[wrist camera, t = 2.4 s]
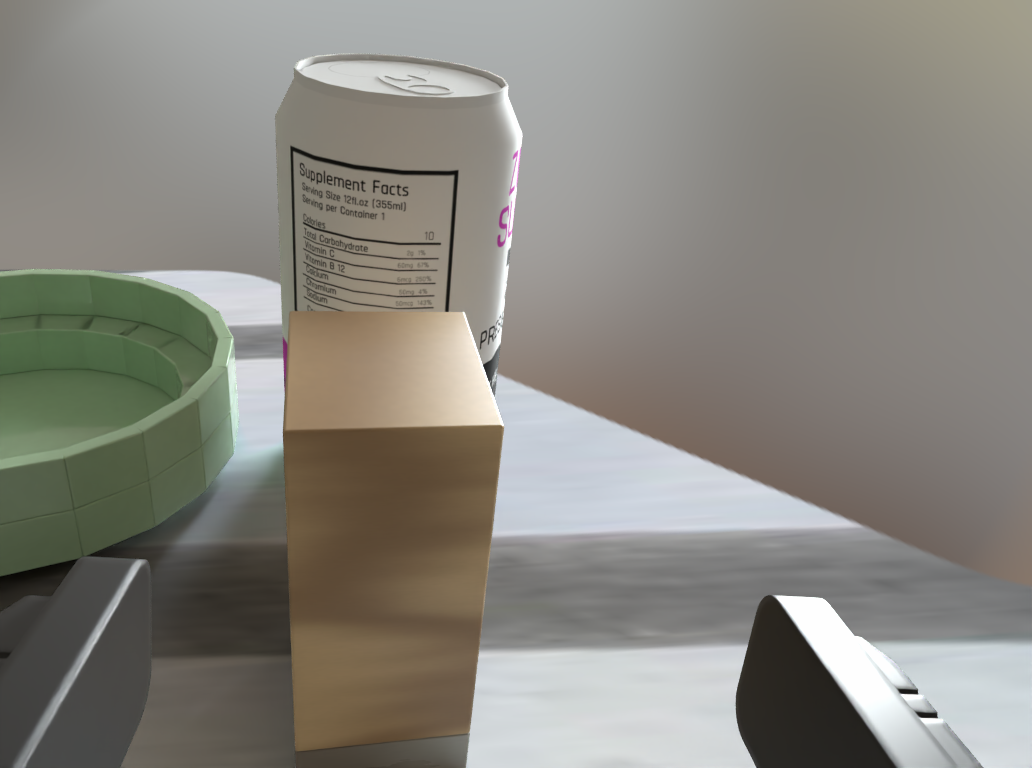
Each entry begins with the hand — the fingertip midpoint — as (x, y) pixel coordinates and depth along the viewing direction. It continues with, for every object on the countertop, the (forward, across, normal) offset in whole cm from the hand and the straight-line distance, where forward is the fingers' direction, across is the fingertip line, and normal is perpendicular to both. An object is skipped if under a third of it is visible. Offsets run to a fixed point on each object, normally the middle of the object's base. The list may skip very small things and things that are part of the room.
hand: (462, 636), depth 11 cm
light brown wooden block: (+11, +1, +10) cm, 15 cm away
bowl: (+22, +15, +8) cm, 28 cm away
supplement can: (+24, +1, +8) cm, 25 cm away
